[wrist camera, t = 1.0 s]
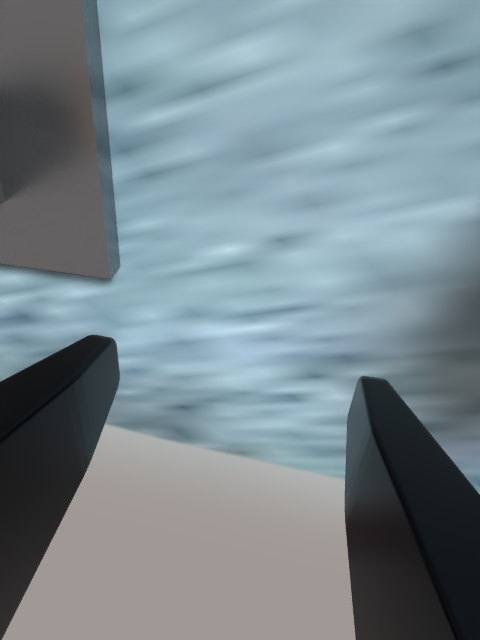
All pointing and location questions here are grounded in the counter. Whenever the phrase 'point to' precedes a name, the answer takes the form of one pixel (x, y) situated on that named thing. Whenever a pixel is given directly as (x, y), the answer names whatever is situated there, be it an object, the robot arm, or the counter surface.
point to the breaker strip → (55, 140)
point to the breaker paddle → (1, 194)
